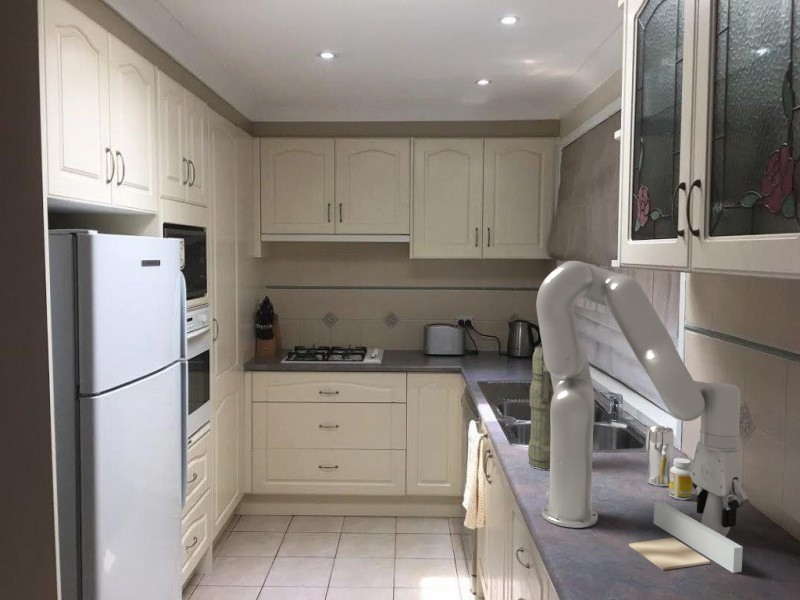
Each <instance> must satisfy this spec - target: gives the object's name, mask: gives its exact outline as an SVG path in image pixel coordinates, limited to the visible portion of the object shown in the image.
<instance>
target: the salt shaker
mask: <svg viewBox="0 0 800 600" xmlns="http://www.w3.org/2000/svg"><path fill="white" fill-rule="evenodd" d="M724 508H725V506H724V503H723V500H722V497H719V496H717V495H714V494H712V493H710V492H709V493H708V497H707V501H706V505H705V508H704V512H703V513H702V517H701V520H700V523H701V524H703V525H705V526H706V527H708V528H710V529H712V530H714V531H715V532H717V533H719V534H721V535H722V536H724V537H726V538H727V535H728V534H729V531H730V530H731V527H726V528H724V527H723V526H722V509H724Z"/></svg>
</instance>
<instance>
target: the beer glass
mask: <svg viewBox="0 0 800 600" xmlns="http://www.w3.org/2000/svg"><path fill="white" fill-rule="evenodd" d="M645 435H646V436H645V437H646V438H645V451H646V460H647V466H648V467H647V468H648V469H647V475H646V481H647V482H648V483H650V484H654V485H668V484H670V469H671V465H672V464H671V463H672V459H673V456H674V455H673V454H674V448H675V447H674V446H675V439H674V436H675V435H674V428H672V427H670V426H669V427H668V426H665V425H649V426H647V427H646V434H645ZM647 482H646V483H647ZM648 483H647V484H648ZM650 484H649V485H650Z"/></svg>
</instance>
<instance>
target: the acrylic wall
mask: <svg viewBox="0 0 800 600" xmlns="http://www.w3.org/2000/svg"><path fill="white" fill-rule="evenodd" d="M653 524H654V525H656V526H658V527H659V528H660V529H662V530H664V531H665V532H667V533H669V534H670V535H672V536H673V537H674V538H675V539H678V540H680V542H682V543H683V544H684V543H685V545H688V547H690V548H691V549H693V550H696V552H699V554H700V553H701V555H704V556H705V557H707V558H708V559H709V560H712V561H713V562H715V563H716V564H718V565H720V566H721V567H723V568H725V570H727V571H729V572H731V573H733V574H736V573H741V572H742V571H743V570H742V568H743V550H744V549H743V548H744V547H743V546H742V545H740V544H738V543H736V542H735V541H734V540H731V539H730V538H728V537H727V536H726V537H724V536H722V535H721V534H719V533H717V532H715V531H714V530H712V529H710V528H708V527H706V526H705V525H703V524H701V522H699V521H697V520H696V519H694V518H692V517H691V516H689V515H687V514H685V513H683V512H682V511H680V510H679V509H676V508H674V507H673V506H671V505H670V504H667V503H665V502H664V501H663V500H662V501H654V504H653Z"/></svg>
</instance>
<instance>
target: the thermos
mask: <svg viewBox="0 0 800 600" xmlns="http://www.w3.org/2000/svg"><path fill="white" fill-rule="evenodd" d="M531 369H532V371H531V372H532V378H531V380H532V381H531V383H530V386H529V406H530V438H529V441H528V446H527V448H528V450H527V451H528V465H529V464H530V465H531V466H533V467H537V468H541V469H550V441H551V422H550V408H551V401H552V397H553V394H554V391H553V385H552V380H551V375H550V372H549V371H548V369H547V368H546V366H545V363H544V353H543V347H542V344H541V345H538V346H535V349H534V352H533V354H532V368H531Z"/></svg>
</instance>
